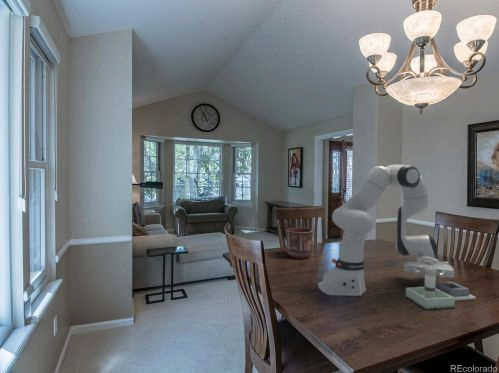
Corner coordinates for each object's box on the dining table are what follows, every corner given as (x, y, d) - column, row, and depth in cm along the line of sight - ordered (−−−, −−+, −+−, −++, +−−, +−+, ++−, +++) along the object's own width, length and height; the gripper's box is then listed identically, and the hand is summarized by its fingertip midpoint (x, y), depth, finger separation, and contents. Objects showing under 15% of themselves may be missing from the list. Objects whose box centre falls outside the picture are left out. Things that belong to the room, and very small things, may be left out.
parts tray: (426, 309, 125) (426, 299, 125) (405, 296, 138) (406, 287, 138) (454, 307, 127) (454, 297, 127) (431, 294, 140) (431, 286, 140)
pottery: (309, 252, 213) (309, 227, 212) (315, 260, 195) (315, 232, 195) (284, 253, 212) (284, 227, 212) (288, 260, 195) (288, 232, 194)
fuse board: (449, 300, 133) (449, 291, 133) (428, 289, 146) (428, 281, 146) (475, 299, 135) (476, 290, 135) (452, 288, 148) (452, 280, 148)
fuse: (425, 300, 131) (427, 269, 130) (422, 297, 135) (423, 266, 134) (436, 301, 130) (437, 269, 129) (432, 297, 134) (433, 266, 134)
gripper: (403, 256, 153) (403, 264, 141) (451, 262, 144) (456, 270, 132) (403, 269, 154) (403, 277, 141) (451, 275, 144) (455, 285, 132)
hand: (429, 274), depth 137 cm, fingers open, 8 cm apart
